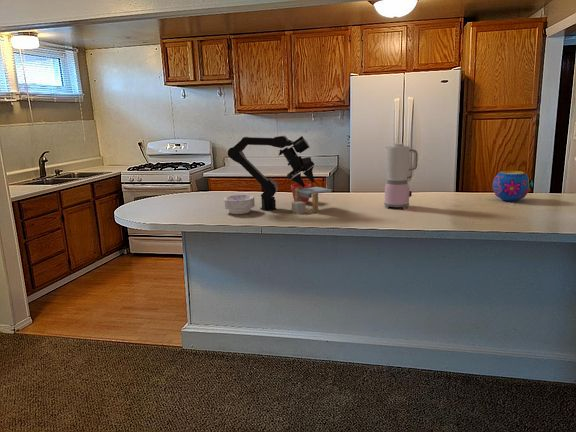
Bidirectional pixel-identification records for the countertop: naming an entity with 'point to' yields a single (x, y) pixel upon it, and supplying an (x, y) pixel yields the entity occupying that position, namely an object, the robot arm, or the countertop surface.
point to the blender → (398, 175)
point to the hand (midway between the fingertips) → (309, 184)
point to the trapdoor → (312, 191)
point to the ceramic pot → (511, 185)
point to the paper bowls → (239, 203)
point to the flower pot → (296, 186)
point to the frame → (314, 201)
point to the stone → (298, 207)
